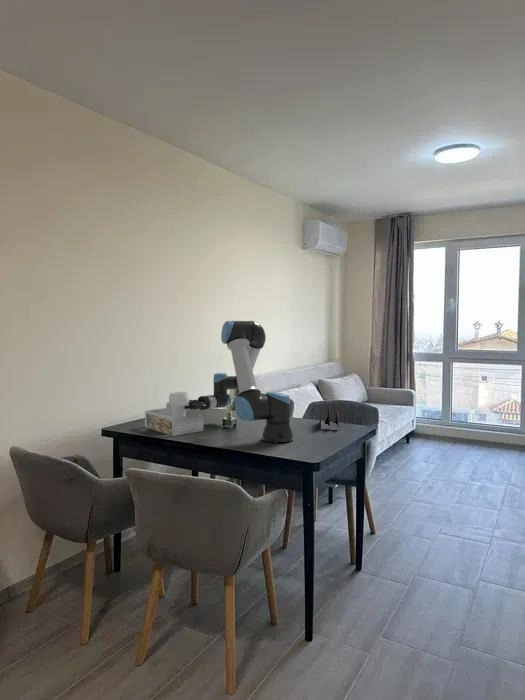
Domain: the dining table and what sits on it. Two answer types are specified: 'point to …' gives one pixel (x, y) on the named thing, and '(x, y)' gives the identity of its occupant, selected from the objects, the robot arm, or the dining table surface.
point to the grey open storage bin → (175, 421)
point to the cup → (178, 402)
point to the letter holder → (328, 416)
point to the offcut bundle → (162, 424)
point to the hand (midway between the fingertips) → (172, 406)
